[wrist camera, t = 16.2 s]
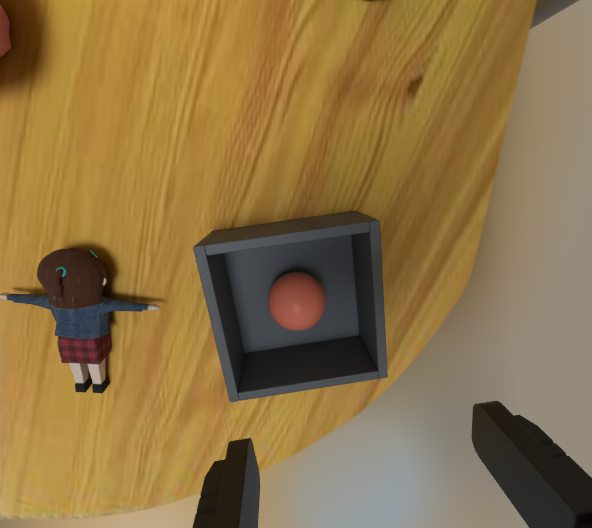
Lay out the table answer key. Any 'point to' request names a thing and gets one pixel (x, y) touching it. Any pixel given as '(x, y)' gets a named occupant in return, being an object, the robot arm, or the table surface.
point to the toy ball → (296, 301)
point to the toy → (79, 312)
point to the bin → (280, 341)
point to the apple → (4, 32)
